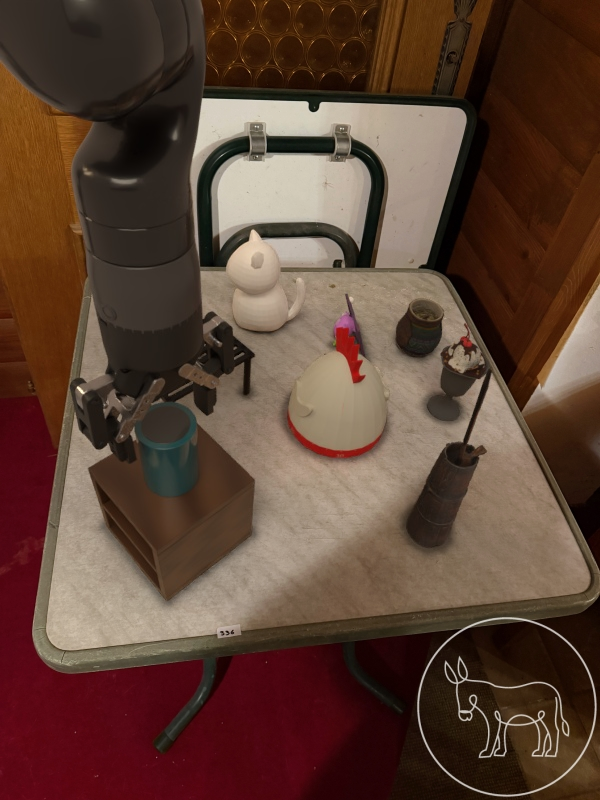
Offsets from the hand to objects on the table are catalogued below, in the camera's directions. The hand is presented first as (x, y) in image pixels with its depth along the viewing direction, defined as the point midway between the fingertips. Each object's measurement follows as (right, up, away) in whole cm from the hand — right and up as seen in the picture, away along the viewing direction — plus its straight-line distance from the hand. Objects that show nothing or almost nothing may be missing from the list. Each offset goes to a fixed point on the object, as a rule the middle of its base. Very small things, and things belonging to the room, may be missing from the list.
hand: (166, 432), depth 52 cm
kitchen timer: (+17, 0, +28) cm, 33 cm away
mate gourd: (+31, +11, +40) cm, 52 cm away
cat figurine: (+6, +16, +40) cm, 44 cm away
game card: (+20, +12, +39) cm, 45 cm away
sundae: (+34, +2, +31) cm, 46 cm away
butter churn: (+29, -13, +18) cm, 37 cm away
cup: (-1, -5, +5) cm, 7 cm away
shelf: (-2, -12, +14) cm, 19 cm away
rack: (-3, +4, +28) cm, 28 cm away
